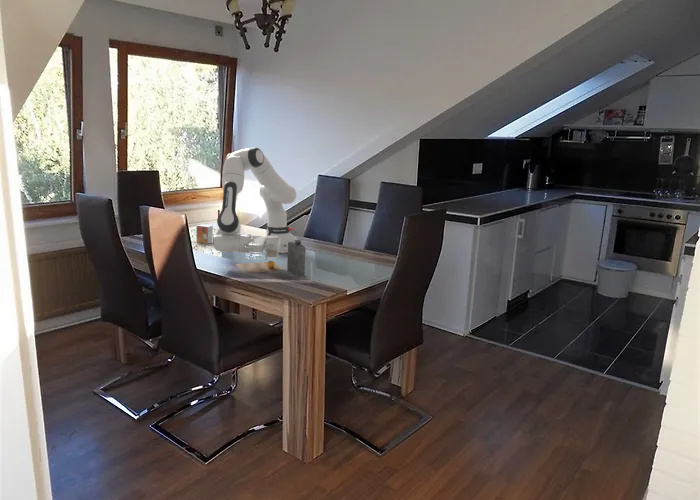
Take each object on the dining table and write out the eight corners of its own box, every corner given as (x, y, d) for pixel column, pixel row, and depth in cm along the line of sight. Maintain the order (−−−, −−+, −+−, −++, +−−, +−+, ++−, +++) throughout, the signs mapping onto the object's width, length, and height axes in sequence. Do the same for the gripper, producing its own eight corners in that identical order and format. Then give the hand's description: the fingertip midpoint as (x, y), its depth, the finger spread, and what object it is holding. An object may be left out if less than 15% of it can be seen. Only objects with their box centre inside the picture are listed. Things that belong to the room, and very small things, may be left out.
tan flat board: (272, 263, 287) (272, 261, 287) (284, 272, 272) (284, 269, 272) (235, 266, 278) (235, 264, 278) (245, 275, 262) (245, 273, 262)
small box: (196, 242, 328) (196, 225, 326) (201, 241, 333) (201, 224, 331) (207, 244, 326) (207, 226, 324) (212, 242, 331) (212, 225, 329)
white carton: (266, 256, 276) (266, 235, 274) (278, 256, 277) (278, 235, 274) (265, 259, 270) (265, 237, 268) (277, 259, 271) (278, 238, 268)
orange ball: (273, 266, 277) (273, 259, 276) (275, 268, 274) (275, 261, 273) (266, 267, 275) (266, 260, 274) (268, 268, 272) (269, 261, 271)
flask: (292, 272, 273) (293, 237, 269) (306, 279, 262) (308, 242, 258) (286, 272, 271) (287, 237, 267) (300, 280, 260) (301, 243, 256)
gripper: (243, 242, 260) (272, 243, 261) (248, 233, 280) (275, 234, 281) (243, 254, 262) (272, 255, 263) (248, 245, 281) (275, 246, 283)
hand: (274, 244), depth 272 cm, fingers closed on white carton, 6 cm apart
